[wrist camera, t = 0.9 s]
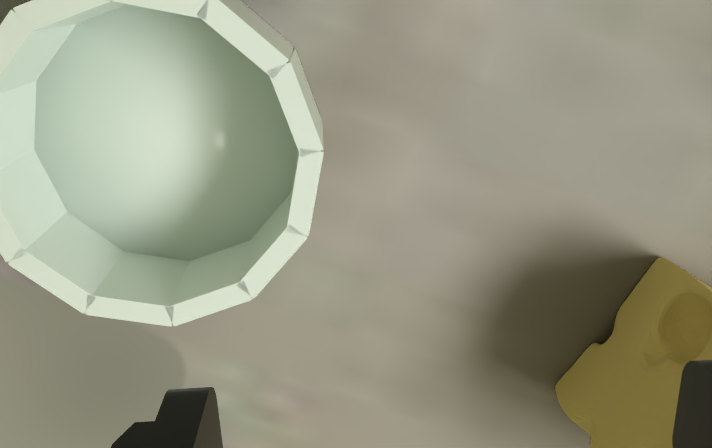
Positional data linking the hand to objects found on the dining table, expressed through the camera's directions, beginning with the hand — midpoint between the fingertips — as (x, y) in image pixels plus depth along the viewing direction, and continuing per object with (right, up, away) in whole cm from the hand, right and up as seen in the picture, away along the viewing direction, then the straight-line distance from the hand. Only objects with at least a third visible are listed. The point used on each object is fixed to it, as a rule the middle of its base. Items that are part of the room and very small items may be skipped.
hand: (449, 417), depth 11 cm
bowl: (-11, +8, +22) cm, 26 cm away
